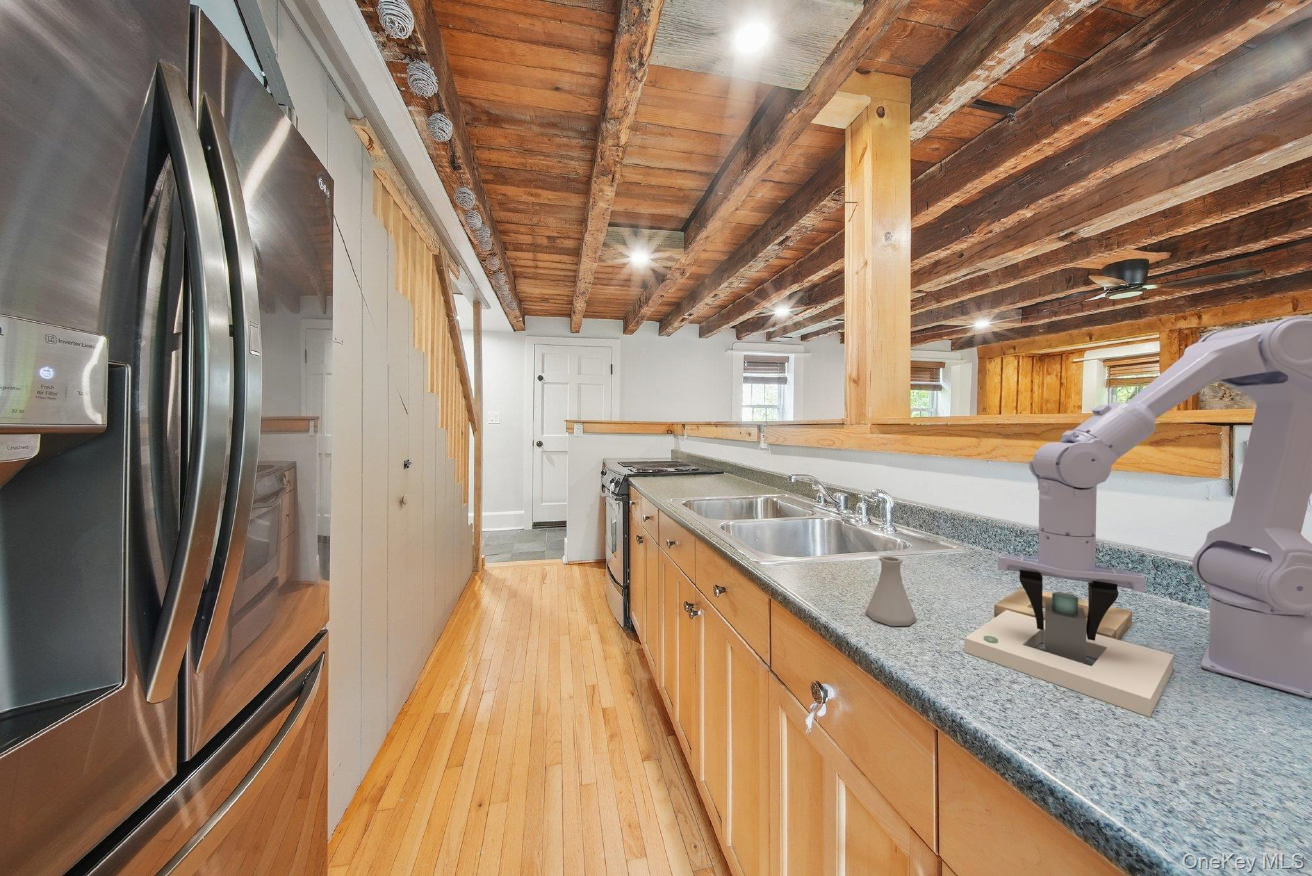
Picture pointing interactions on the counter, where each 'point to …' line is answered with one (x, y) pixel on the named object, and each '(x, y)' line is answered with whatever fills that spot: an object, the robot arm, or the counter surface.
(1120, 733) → the counter surface
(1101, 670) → the port dock
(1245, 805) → the counter surface
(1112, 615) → the slotted wooden base
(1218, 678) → the counter surface
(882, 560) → the flask
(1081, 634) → the plug
